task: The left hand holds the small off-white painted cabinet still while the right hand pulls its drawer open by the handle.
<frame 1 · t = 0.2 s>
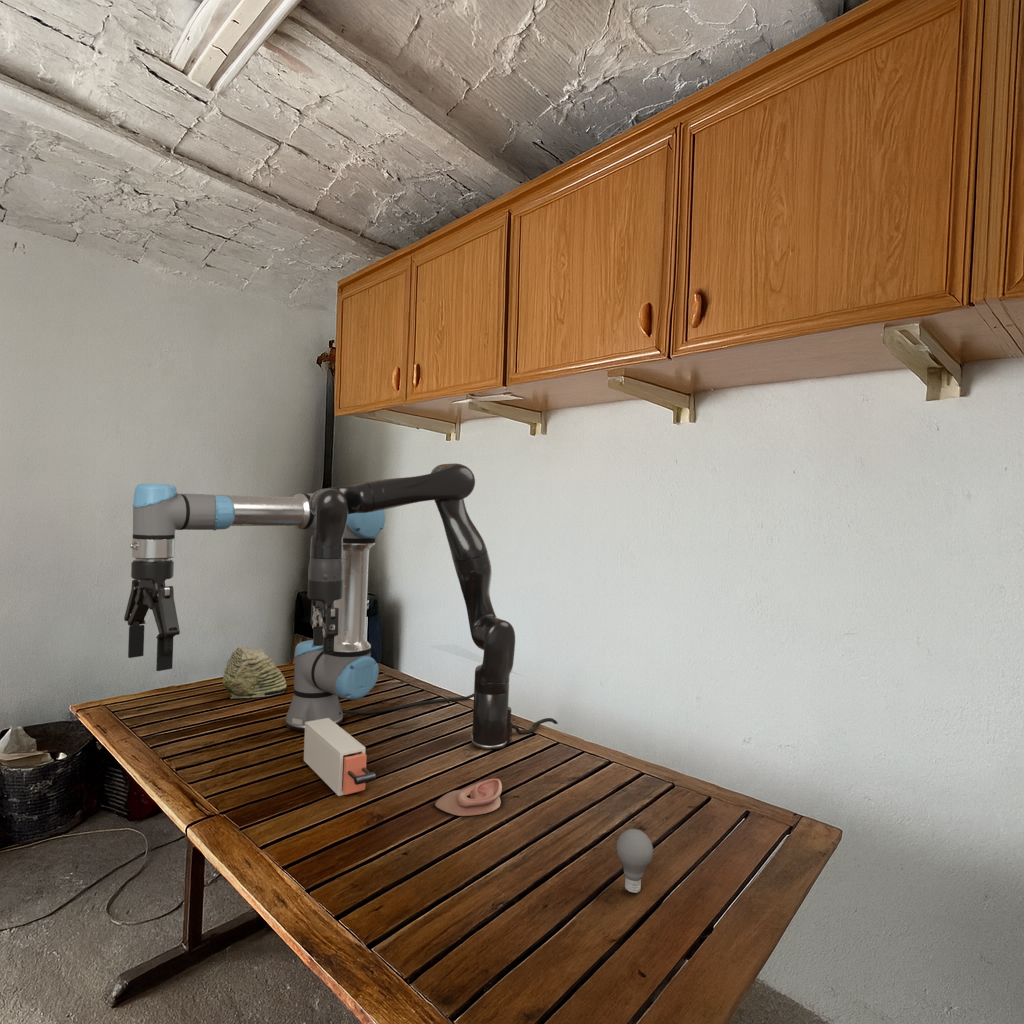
left hand: (149, 663, 129), 28 cm above the table, tool pointing down, fingers open, 13 cm apart
right hand: (323, 649, 142), 29 cm above the table, tool pointing down, fingers open, 8 cm apart
cabinet: (332, 774, 145), on the table
fossil: (254, 694, 198), on the table
light bulb: (632, 891, 106), on the table
drawer: (341, 762, 141), point 5 cm above the table, slide at 0.7 cm
anatomical model: (468, 804, 133), on the table
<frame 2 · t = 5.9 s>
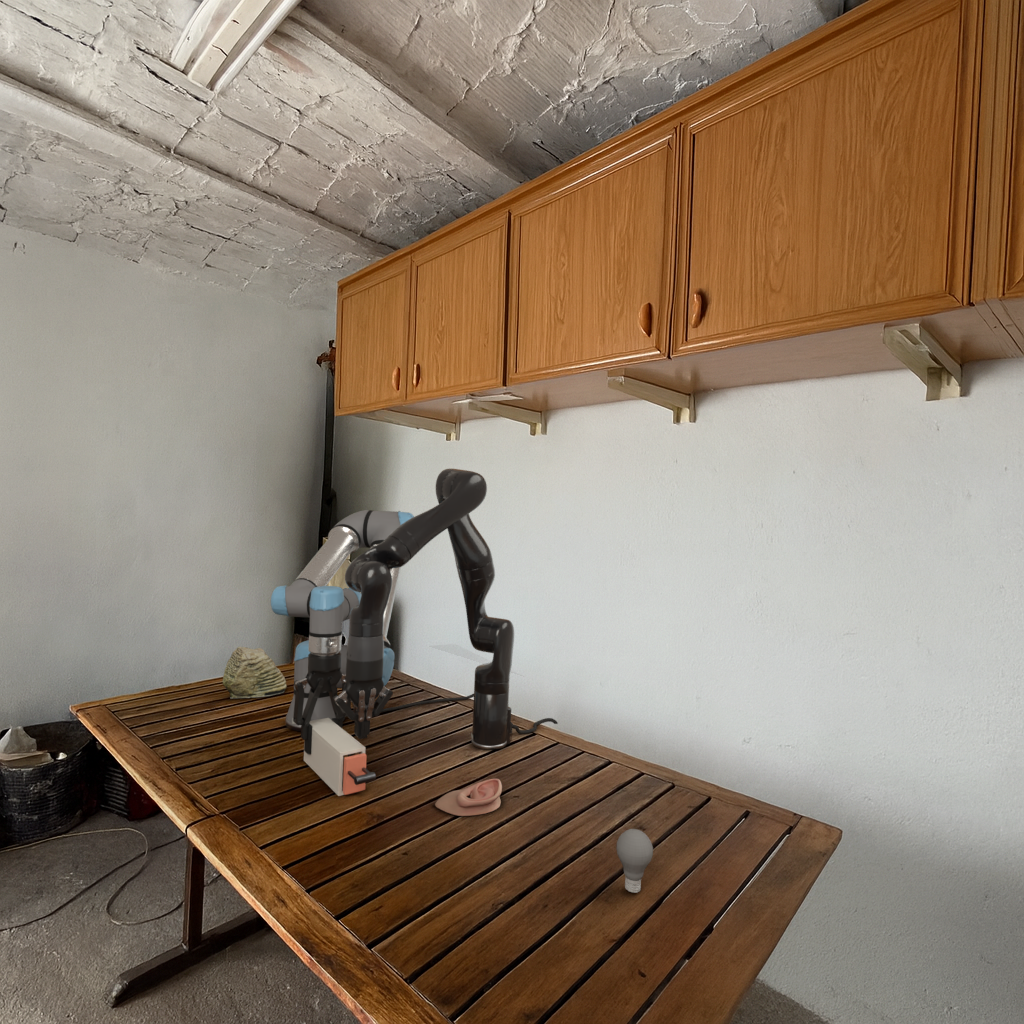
left hand: (321, 749, 150), 3 cm above the table, tool pointing down, fingers closed on cabinet, 6 cm apart
right hand: (362, 737, 133), 13 cm above the table, tool pointing down, fingers closed
cabinet: (332, 774, 145), on the table, touching left hand
everything else where it was.
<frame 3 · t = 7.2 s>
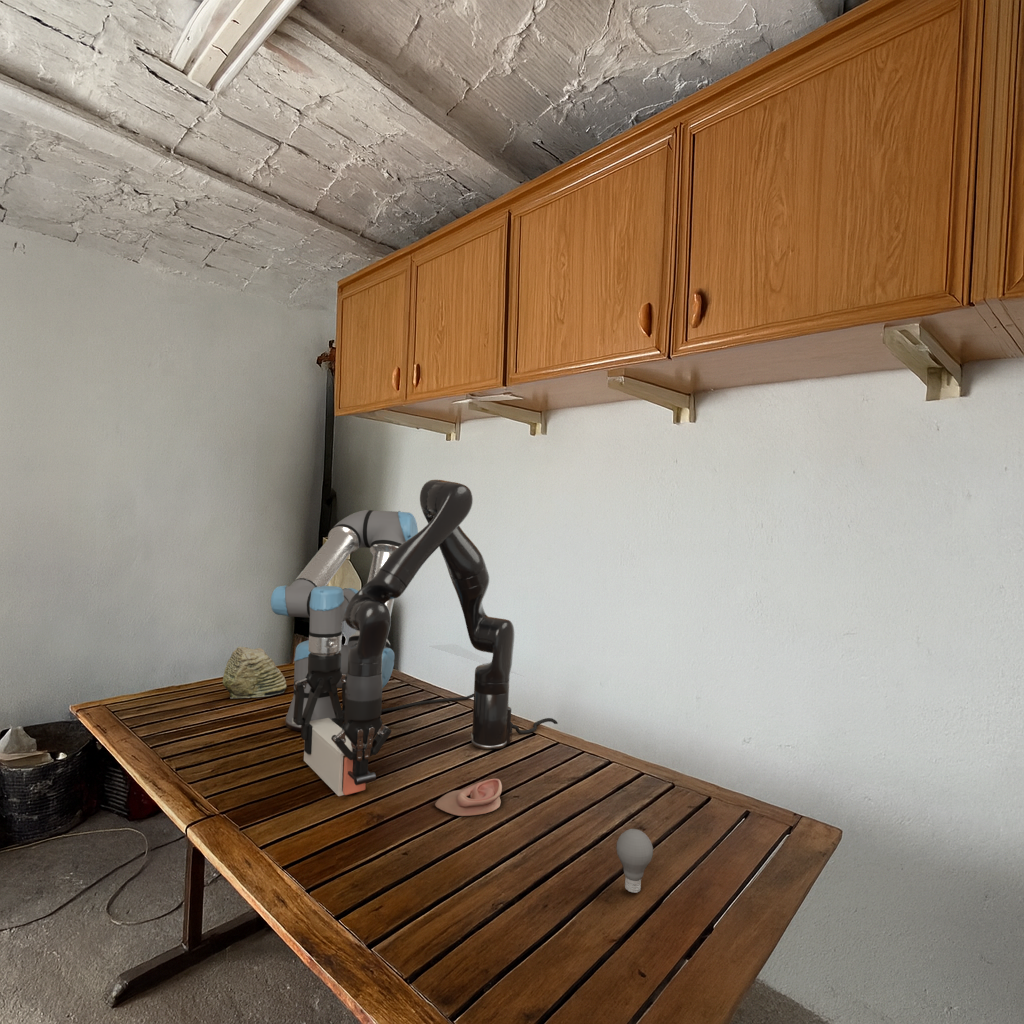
left hand: (321, 749, 150), 3 cm above the table, tool pointing down, fingers closed on cabinet, 6 cm apart
right hand: (360, 776, 132), 5 cm above the table, tool pointing down, fingers closed
cabinet: (332, 774, 145), on the table, touching left hand
drawer: (342, 762, 140), point 5 cm above the table, slide at 0.7 cm, touching right hand
everything else where it was.
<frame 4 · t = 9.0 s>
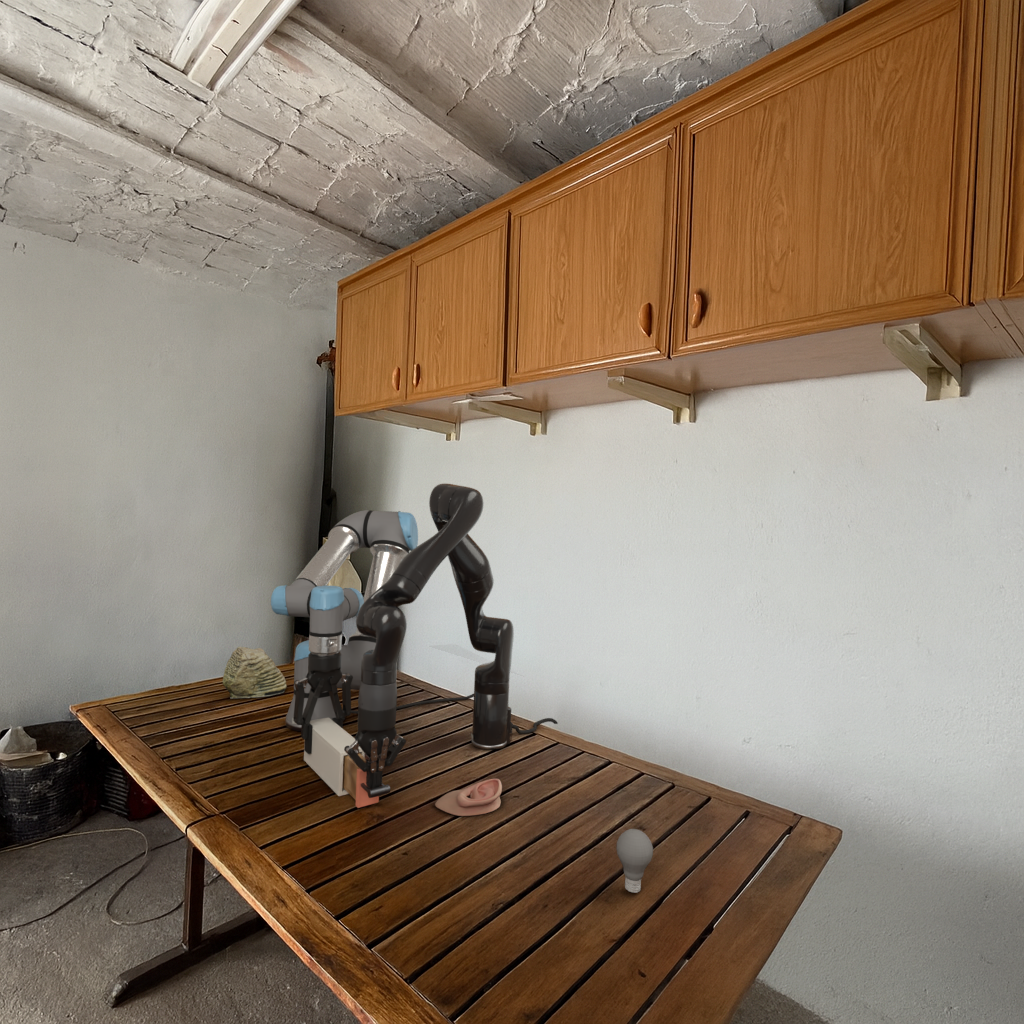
left hand: (321, 748, 150), 3 cm above the table, tool pointing down, fingers closed on cabinet, 6 cm apart
right hand: (373, 788, 127), 5 cm above the table, tool pointing down, fingers closed
cabinet: (332, 774, 145), on the table, touching left hand
drawer: (354, 773, 135), point 5 cm above the table, slide at 7.1 cm, touching right hand
everything else where it was.
when the left hand's fingers open (3 cm above the table, at t = 10.2 s): cabinet stays where it is, on the table.
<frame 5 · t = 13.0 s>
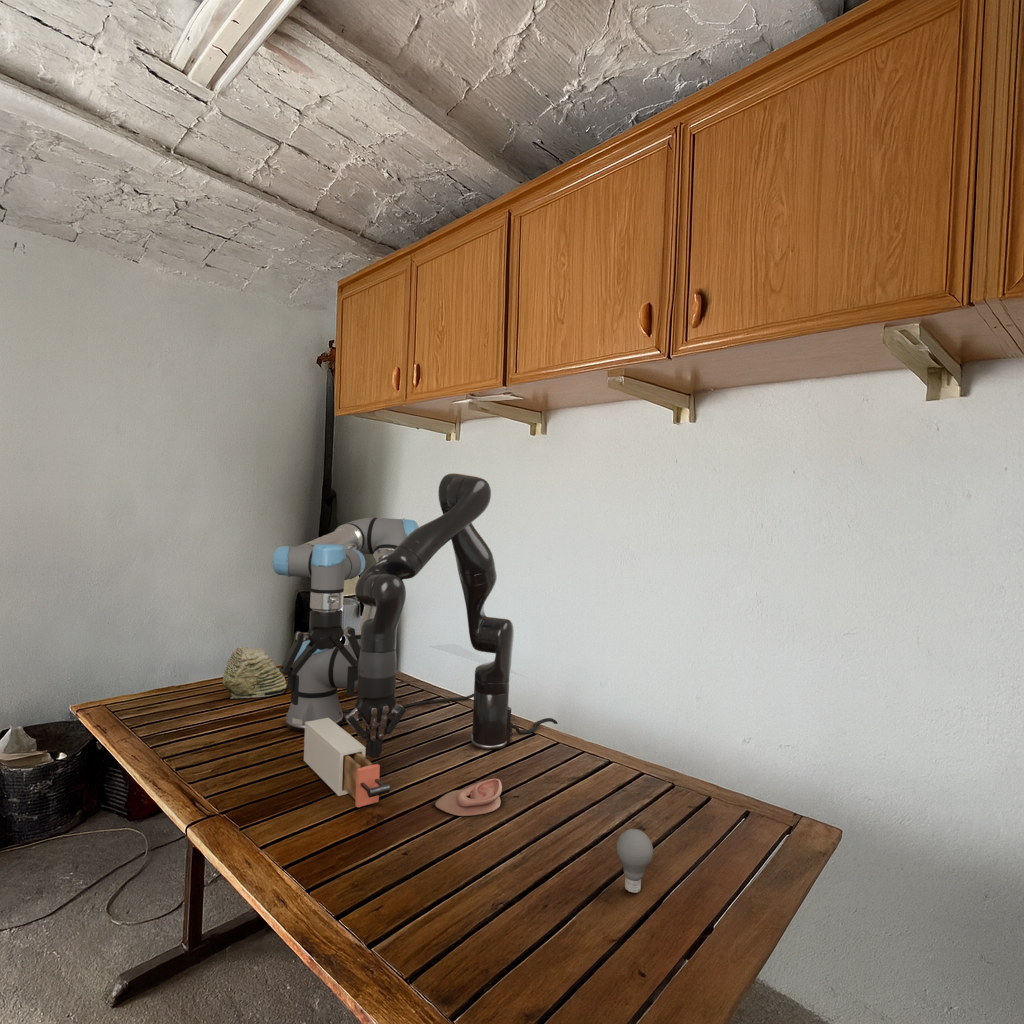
left hand: (323, 698, 150), 15 cm above the table, tool pointing down, fingers open, 13 cm apart
right hand: (373, 756, 128), 11 cm above the table, tool pointing down, fingers closed
cabinet: (332, 774, 145), on the table
drawer: (353, 772, 135), point 5 cm above the table, slide at 7.1 cm
everything else where it was.
at the end: drawer slide at 7.1 cm; cabinet tilted 0°; cabinet never tilted more than 1° during the clip; cabinet moved 0.0 cm from its start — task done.
